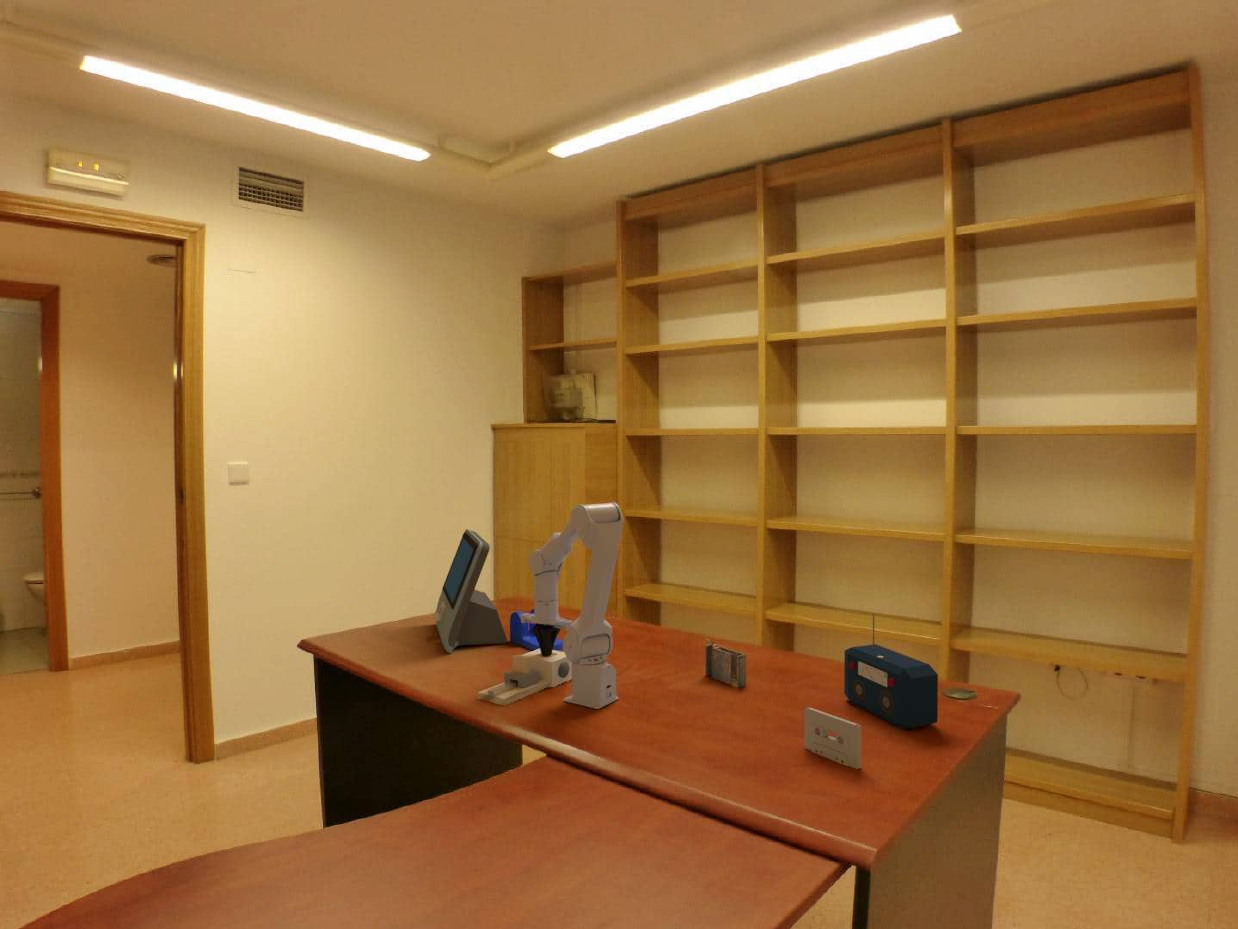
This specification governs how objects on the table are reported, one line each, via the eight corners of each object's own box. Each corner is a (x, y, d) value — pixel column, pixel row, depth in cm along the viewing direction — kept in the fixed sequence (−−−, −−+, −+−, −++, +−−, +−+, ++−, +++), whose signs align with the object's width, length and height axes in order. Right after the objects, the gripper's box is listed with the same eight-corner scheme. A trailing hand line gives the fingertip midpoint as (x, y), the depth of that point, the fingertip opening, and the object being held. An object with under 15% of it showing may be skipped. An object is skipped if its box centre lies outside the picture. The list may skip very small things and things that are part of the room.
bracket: (510, 641, 222) (509, 610, 222) (535, 636, 227) (535, 606, 226) (542, 655, 207) (542, 622, 207) (568, 650, 212) (568, 617, 212)
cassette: (802, 748, 145) (802, 708, 145) (808, 746, 146) (809, 705, 146) (856, 770, 135) (856, 727, 135) (863, 768, 136) (863, 724, 136)
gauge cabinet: (575, 679, 187) (574, 654, 186) (553, 688, 180) (553, 662, 180) (541, 671, 193) (541, 647, 192) (520, 680, 186) (519, 655, 186)
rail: (538, 678, 183) (538, 674, 183) (493, 696, 170) (493, 691, 170) (533, 677, 184) (533, 673, 184) (488, 695, 171) (488, 690, 171)
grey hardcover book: (704, 677, 189) (703, 637, 188) (713, 675, 190) (713, 635, 190) (736, 689, 179) (736, 648, 179) (746, 687, 181) (746, 646, 181)
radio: (839, 700, 171) (839, 610, 170) (871, 695, 174) (872, 606, 173) (905, 734, 151) (906, 632, 150) (941, 728, 154) (941, 628, 153)
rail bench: (549, 687, 181) (549, 680, 181) (504, 705, 169) (504, 699, 169) (523, 681, 186) (523, 674, 185) (478, 699, 173) (477, 692, 173)
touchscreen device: (429, 624, 241) (431, 528, 241) (492, 621, 247) (494, 527, 246) (439, 655, 208) (441, 543, 207) (511, 650, 214) (514, 542, 213)
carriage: (538, 682, 179) (538, 656, 179) (524, 687, 175) (523, 661, 175) (519, 677, 183) (518, 652, 183) (504, 683, 179) (504, 657, 178)
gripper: (580, 600, 185) (580, 656, 185) (534, 593, 193) (534, 647, 194) (561, 605, 179) (562, 663, 180) (514, 598, 187) (515, 654, 188)
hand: (546, 655), depth 186 cm, fingers closed, pressing on reset button
